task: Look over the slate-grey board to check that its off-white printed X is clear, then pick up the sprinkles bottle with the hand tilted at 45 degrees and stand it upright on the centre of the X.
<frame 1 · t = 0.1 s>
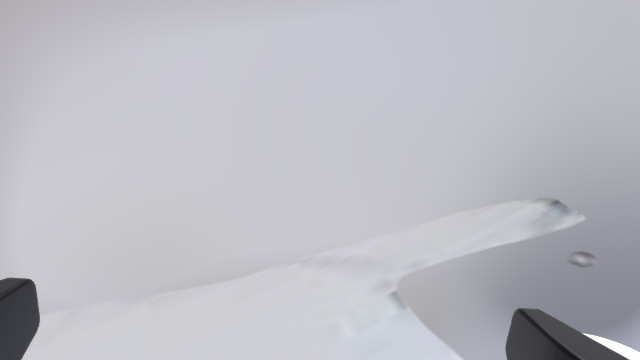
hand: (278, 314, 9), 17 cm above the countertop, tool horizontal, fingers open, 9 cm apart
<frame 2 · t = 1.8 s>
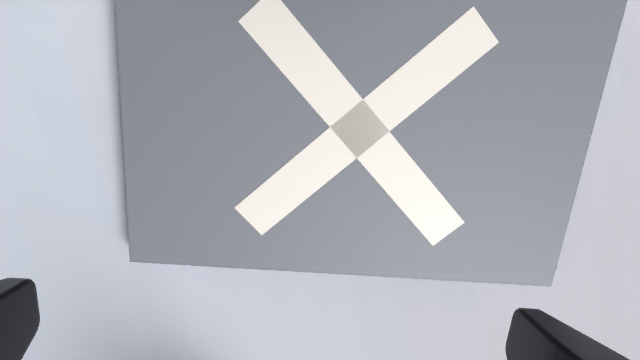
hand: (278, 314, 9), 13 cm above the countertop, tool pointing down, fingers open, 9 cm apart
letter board: (357, 124, 21), on the countertop
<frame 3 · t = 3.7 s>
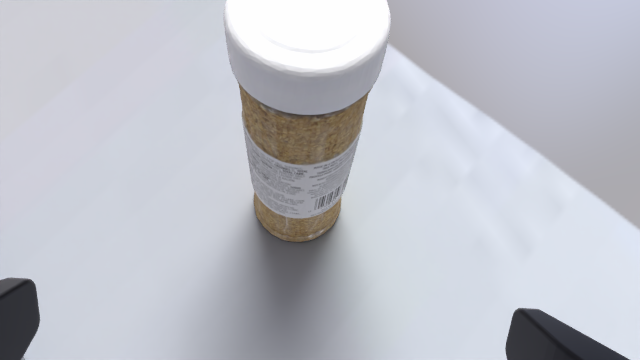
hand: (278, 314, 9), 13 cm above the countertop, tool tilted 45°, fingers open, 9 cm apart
sprinkles bottle: (296, 205, 25), on the countertop
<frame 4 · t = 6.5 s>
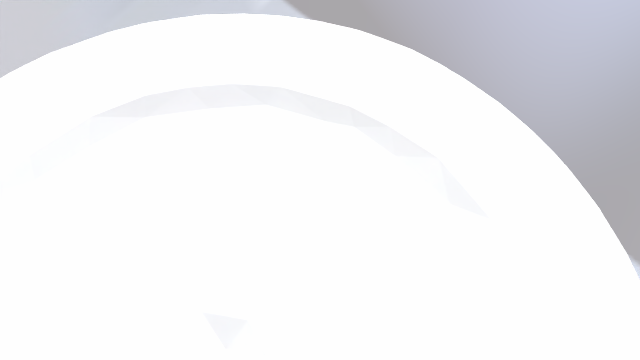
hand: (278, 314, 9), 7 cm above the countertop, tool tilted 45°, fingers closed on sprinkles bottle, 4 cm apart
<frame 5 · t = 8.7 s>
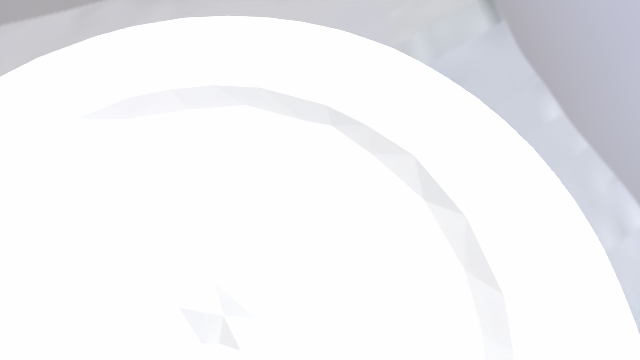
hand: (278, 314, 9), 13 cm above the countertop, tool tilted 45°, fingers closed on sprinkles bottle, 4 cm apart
when the fingers open (9 cm above the countertop, at t = 10.8 s): sprinkles bottle drops 1 cm, resting on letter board.
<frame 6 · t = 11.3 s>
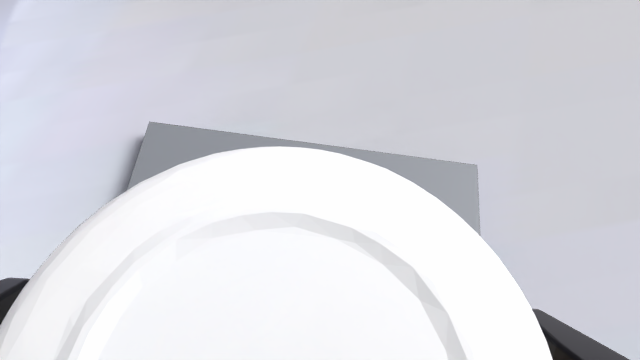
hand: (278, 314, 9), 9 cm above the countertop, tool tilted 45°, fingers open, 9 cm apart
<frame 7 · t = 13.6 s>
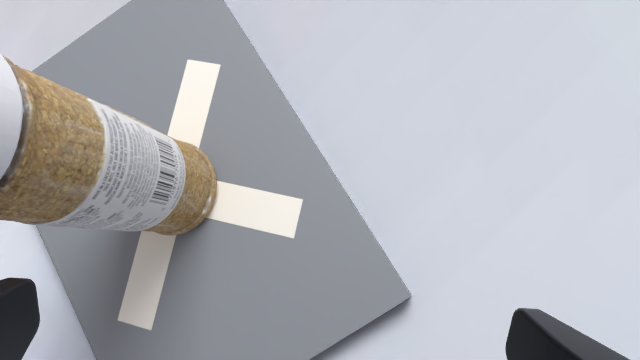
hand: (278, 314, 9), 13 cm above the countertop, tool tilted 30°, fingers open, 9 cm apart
sprinkles bottle: (178, 190, 23), point 1 cm above the countertop, touching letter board
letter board: (180, 192, 24), on the countertop
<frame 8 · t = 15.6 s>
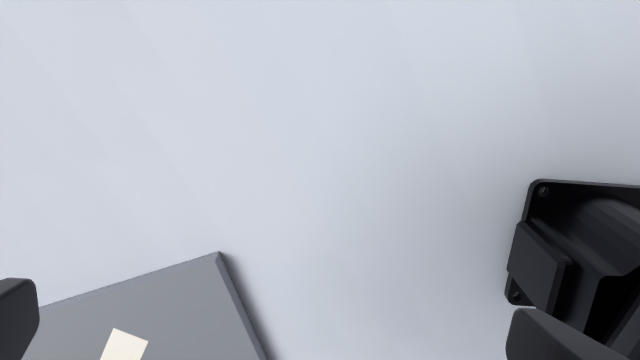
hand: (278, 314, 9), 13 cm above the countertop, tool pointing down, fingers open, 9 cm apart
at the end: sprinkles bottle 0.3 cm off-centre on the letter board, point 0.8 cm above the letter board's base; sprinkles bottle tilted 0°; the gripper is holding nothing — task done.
